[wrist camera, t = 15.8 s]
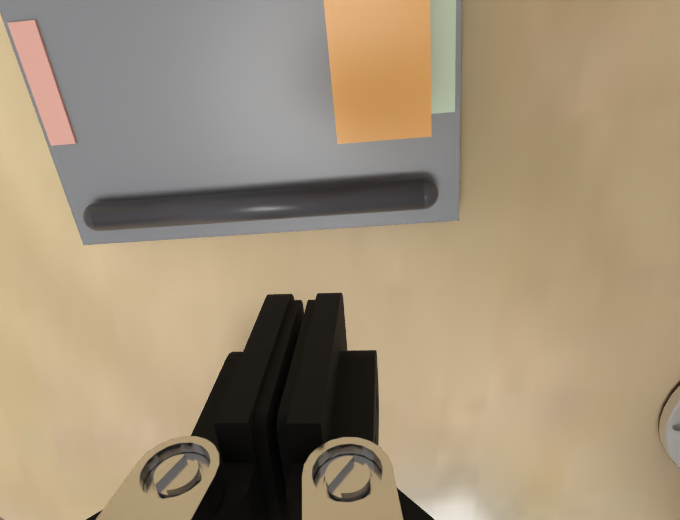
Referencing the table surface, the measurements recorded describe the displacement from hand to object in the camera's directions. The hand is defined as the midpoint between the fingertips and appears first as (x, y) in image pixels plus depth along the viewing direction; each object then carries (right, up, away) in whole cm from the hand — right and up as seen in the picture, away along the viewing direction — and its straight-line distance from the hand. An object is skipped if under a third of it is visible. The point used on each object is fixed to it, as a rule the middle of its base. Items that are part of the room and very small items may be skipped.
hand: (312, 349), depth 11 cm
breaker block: (-4, +12, +15) cm, 20 cm away
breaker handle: (+2, +12, +13) cm, 17 cm away
